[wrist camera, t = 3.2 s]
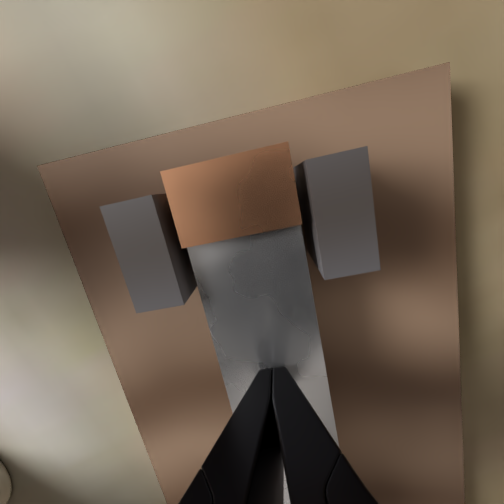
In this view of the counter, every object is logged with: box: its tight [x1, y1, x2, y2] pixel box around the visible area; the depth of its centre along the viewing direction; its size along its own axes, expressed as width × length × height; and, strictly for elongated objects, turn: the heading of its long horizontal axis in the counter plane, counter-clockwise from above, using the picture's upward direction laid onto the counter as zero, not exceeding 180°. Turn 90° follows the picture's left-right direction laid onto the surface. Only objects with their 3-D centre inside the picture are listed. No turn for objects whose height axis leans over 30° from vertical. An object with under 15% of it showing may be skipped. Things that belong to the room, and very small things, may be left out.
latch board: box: [37, 62, 465, 504], centre depth 11 cm, size 22×14×4 cm, turn 12°
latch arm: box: [160, 141, 339, 504], centre depth 9 cm, size 19×4×2 cm, turn 12°
